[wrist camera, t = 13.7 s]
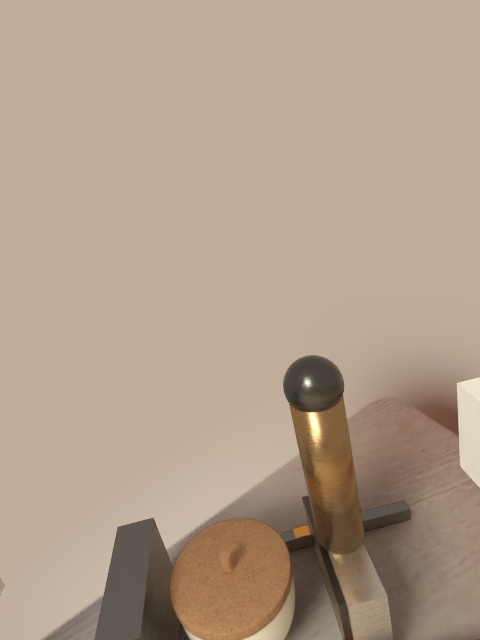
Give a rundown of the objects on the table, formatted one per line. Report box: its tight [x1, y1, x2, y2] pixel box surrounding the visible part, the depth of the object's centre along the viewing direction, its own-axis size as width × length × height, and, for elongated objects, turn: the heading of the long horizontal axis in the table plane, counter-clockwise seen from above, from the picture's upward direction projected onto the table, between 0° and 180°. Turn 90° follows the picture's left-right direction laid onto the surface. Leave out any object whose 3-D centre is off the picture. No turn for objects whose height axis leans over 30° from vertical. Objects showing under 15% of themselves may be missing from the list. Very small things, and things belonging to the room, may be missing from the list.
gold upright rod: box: [283, 355, 393, 640], centre depth 35 cm, size 4×12×25 cm, turn 7°
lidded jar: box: [169, 519, 296, 640], centre depth 37 cm, size 11×11×9 cm
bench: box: [95, 501, 480, 640], centre depth 37 cm, size 29×15×10 cm, turn 97°
